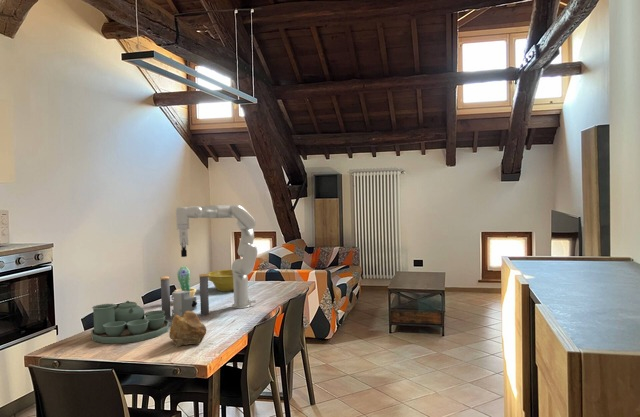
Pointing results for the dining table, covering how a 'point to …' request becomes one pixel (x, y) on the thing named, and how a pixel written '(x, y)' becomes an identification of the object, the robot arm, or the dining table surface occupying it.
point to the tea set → (126, 323)
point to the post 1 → (165, 296)
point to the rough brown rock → (187, 329)
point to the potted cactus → (185, 280)
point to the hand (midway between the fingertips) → (184, 256)
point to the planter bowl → (222, 279)
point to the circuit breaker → (183, 303)
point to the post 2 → (204, 294)
